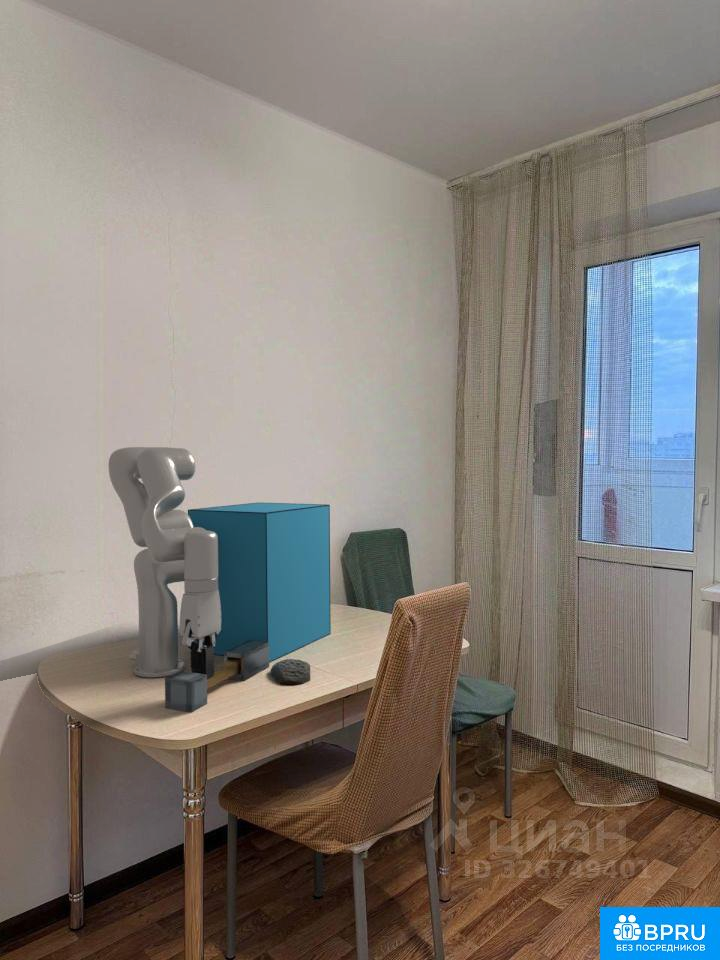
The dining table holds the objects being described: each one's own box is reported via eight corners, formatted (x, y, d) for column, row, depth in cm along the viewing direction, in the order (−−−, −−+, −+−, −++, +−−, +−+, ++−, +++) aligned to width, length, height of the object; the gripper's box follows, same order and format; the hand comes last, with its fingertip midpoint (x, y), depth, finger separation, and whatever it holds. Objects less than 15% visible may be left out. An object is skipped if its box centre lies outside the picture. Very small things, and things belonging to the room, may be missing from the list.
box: (330, 634, 207) (329, 504, 206) (267, 663, 177) (266, 512, 176) (259, 624, 219) (258, 502, 218) (189, 651, 189) (187, 509, 188)
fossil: (310, 669, 173) (309, 654, 173) (310, 686, 160) (310, 669, 160) (271, 671, 172) (270, 656, 172) (268, 687, 159) (268, 671, 159)
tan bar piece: (176, 696, 147) (175, 653, 147) (232, 667, 167) (232, 629, 167) (191, 699, 145) (190, 655, 145) (246, 669, 166) (245, 631, 165)
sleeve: (224, 678, 165) (224, 652, 165) (250, 664, 176) (250, 639, 176) (244, 681, 163) (243, 654, 163) (269, 666, 174) (269, 641, 174)
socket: (165, 707, 146) (164, 678, 146) (181, 699, 151) (180, 670, 151) (191, 712, 143) (191, 682, 143) (207, 703, 148) (206, 674, 148)
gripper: (209, 578, 161) (210, 654, 161) (164, 591, 146) (165, 674, 146) (235, 580, 158) (236, 657, 159) (192, 593, 143) (194, 679, 143)
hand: (202, 665), depth 152 cm, fingers closed on tan bar piece, 3 cm apart
